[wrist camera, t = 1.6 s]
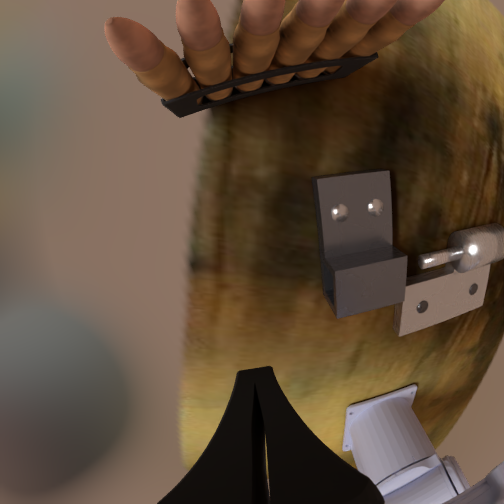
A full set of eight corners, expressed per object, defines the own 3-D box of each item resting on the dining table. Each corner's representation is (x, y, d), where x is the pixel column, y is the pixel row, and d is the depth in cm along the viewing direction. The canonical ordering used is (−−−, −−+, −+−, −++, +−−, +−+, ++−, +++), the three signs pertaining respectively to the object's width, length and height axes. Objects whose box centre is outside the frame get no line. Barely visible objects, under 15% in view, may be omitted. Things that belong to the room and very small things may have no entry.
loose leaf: (384, 280, 20) (404, 301, 17) (323, 294, 20) (336, 318, 17) (380, 168, 17) (406, 174, 14) (311, 177, 17) (327, 183, 14)
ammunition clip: (338, 51, 15) (455, -33, 3) (346, 77, 15) (480, 15, 4) (170, 91, 15) (68, 13, 4) (178, 118, 16) (78, 73, 4)
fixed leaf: (475, 299, 22) (494, 315, 19) (392, 328, 22) (409, 351, 19) (486, 218, 19) (510, 229, 16) (397, 236, 19) (421, 251, 16)
